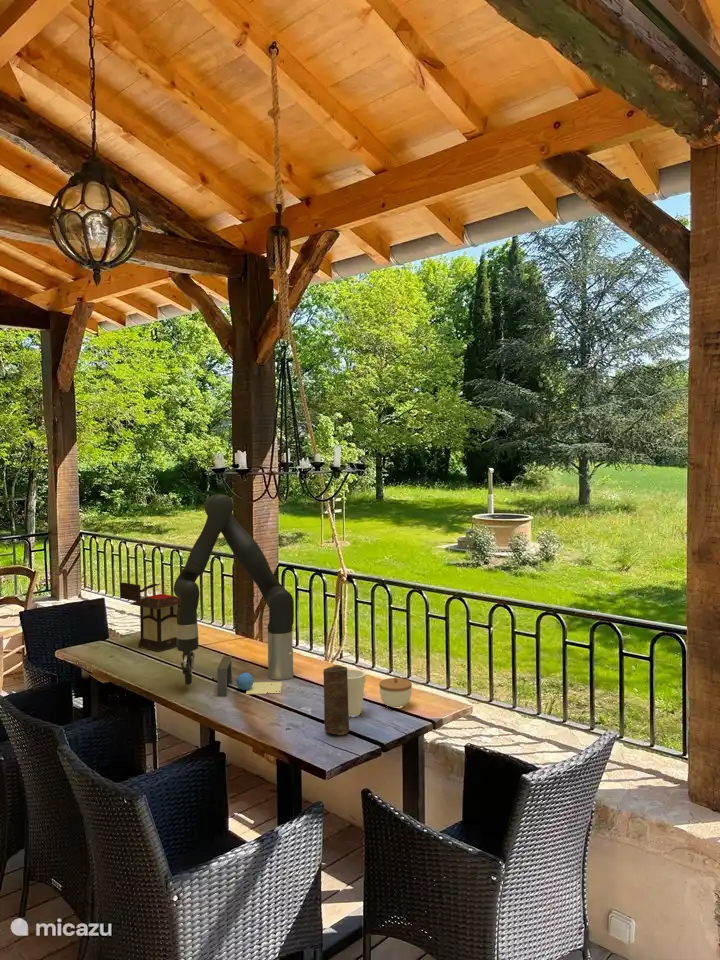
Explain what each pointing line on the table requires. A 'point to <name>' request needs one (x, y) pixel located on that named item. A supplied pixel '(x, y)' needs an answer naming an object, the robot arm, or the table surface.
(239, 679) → the ball
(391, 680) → the lidded jar
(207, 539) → the robot arm
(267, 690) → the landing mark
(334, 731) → the candle
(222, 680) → the bridge
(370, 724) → the table surface
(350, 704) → the foam cup
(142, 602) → the lantern
